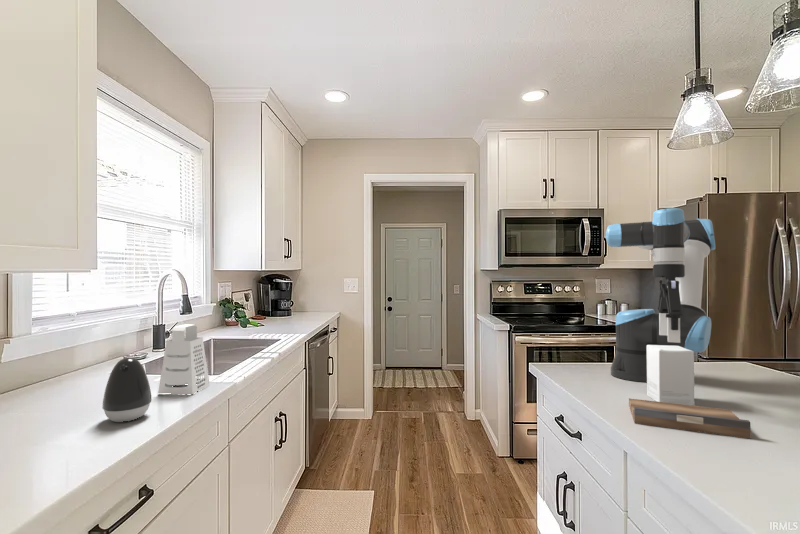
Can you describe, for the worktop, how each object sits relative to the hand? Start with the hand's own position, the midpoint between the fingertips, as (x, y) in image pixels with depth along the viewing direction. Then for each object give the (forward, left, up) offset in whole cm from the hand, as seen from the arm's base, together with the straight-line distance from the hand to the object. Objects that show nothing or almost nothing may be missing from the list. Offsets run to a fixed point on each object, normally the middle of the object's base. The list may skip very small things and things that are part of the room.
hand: (669, 338), depth 115 cm
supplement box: (0, 0, -18) cm, 18 cm away
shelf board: (+17, 0, -17) cm, 24 cm away
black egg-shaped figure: (+72, -126, -18) cm, 146 cm away
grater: (+49, -135, -18) cm, 145 cm away
